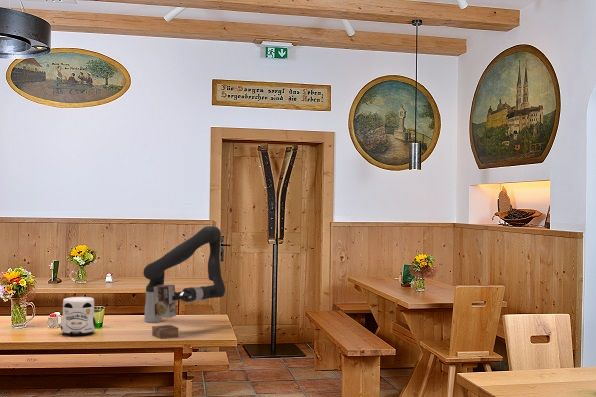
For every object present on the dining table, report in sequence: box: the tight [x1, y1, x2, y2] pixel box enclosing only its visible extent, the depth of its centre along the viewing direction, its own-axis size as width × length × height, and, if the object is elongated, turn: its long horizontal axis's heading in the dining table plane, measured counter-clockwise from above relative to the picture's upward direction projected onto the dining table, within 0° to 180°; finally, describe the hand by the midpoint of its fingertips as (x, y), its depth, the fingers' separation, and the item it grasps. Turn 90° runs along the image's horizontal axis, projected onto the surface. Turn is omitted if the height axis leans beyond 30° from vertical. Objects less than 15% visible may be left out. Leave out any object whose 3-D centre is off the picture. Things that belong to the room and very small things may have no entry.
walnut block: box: [151, 324, 179, 340], centre depth 366 cm, size 10×10×5 cm
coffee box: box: [154, 284, 177, 319], centre depth 366 cm, size 9×6×16 cm
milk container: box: [60, 296, 97, 336], centre depth 368 cm, size 17×17×18 cm
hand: (167, 297), depth 367 cm, fingers closed on coffee box, 8 cm apart
